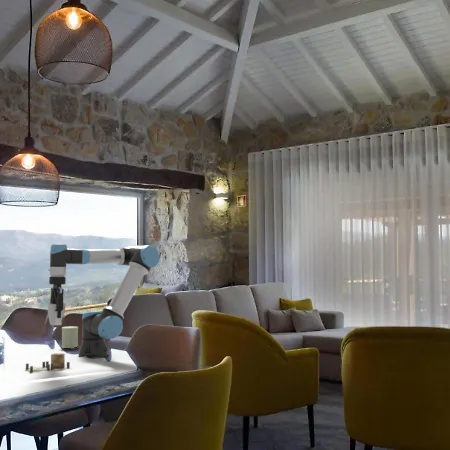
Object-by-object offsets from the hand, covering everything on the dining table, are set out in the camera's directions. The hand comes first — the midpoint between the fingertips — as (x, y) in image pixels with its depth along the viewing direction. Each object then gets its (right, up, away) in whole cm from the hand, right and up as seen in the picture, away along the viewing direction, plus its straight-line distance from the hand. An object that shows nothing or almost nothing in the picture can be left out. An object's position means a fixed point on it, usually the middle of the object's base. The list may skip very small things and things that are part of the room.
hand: (55, 324), depth 266 cm
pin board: (0, -19, -12) cm, 23 cm away
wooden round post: (+4, -18, -10) cm, 21 cm away
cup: (0, 0, 0) cm, 0 cm away
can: (-9, -24, +56) cm, 61 cm away
